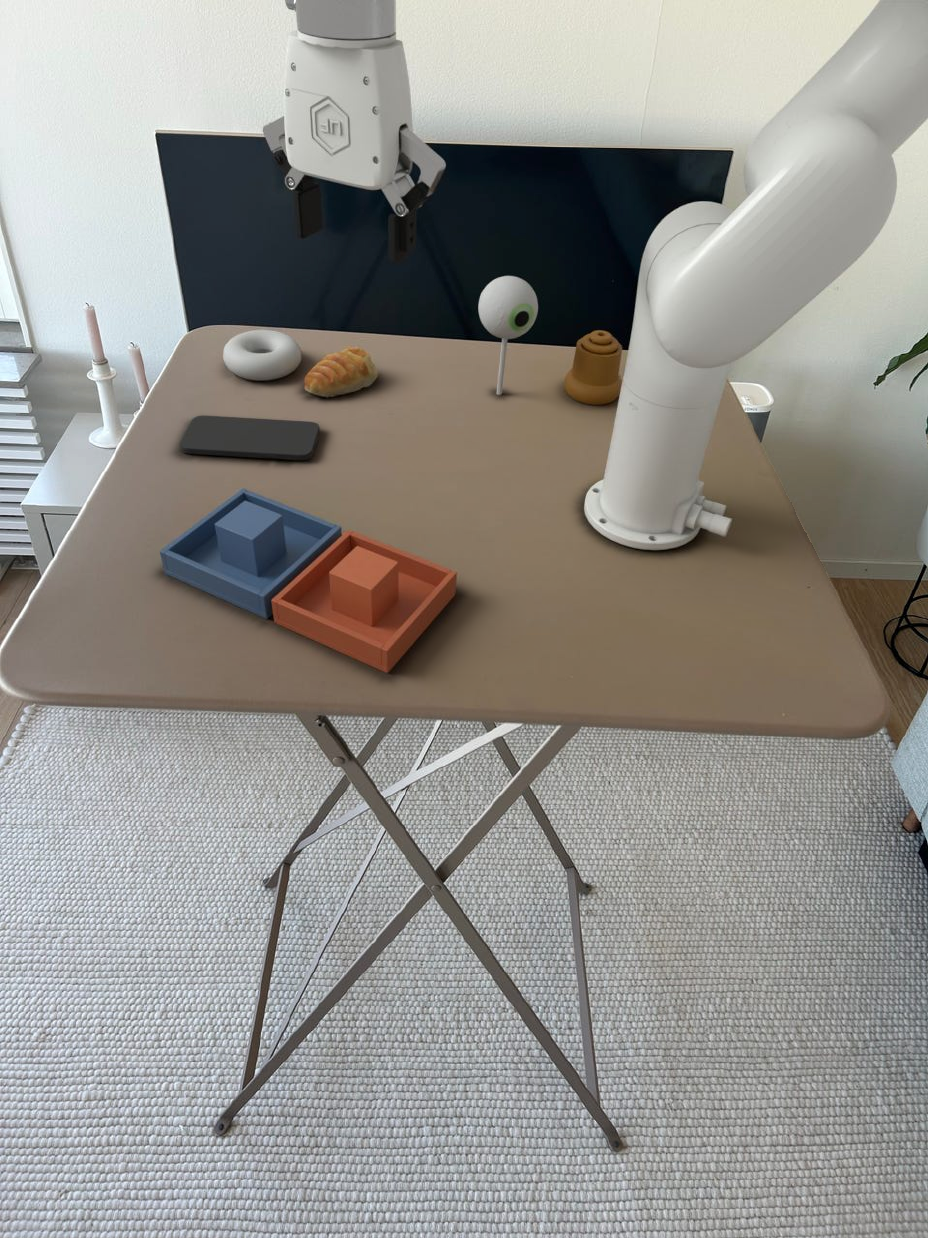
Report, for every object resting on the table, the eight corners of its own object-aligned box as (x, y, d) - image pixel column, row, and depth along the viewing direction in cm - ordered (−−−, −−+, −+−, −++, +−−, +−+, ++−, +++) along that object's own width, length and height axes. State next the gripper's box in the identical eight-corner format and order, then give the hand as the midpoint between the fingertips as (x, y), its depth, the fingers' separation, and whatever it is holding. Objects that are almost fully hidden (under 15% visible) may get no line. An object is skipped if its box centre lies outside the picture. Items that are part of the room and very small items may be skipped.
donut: (280, 392, 111) (315, 357, 118) (277, 367, 108) (313, 332, 115) (210, 376, 113) (248, 342, 120) (205, 351, 110) (245, 318, 117)
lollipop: (488, 412, 110) (499, 294, 99) (461, 385, 114) (469, 270, 104) (536, 401, 112) (552, 285, 102) (509, 376, 117) (521, 262, 106)
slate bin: (342, 548, 89) (341, 526, 87) (266, 619, 81) (263, 596, 79) (246, 510, 92) (242, 487, 91) (164, 573, 84) (159, 551, 83)
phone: (194, 414, 104) (320, 421, 104) (195, 420, 105) (321, 427, 105) (176, 448, 99) (310, 455, 99) (178, 454, 99) (310, 462, 99)
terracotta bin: (455, 594, 84) (457, 572, 83) (387, 673, 76) (387, 651, 74) (349, 551, 88) (348, 529, 86) (273, 622, 80) (271, 600, 78)
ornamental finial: (622, 383, 117) (617, 411, 111) (567, 375, 118) (559, 402, 112) (633, 325, 111) (628, 352, 106) (575, 317, 112) (567, 342, 107)
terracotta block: (398, 598, 83) (398, 561, 80) (372, 627, 80) (371, 589, 77) (358, 582, 84) (357, 545, 81) (331, 609, 81) (328, 572, 78)
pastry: (328, 407, 108) (326, 379, 106) (291, 388, 112) (289, 360, 109) (382, 381, 114) (381, 353, 111) (345, 364, 117) (344, 336, 114)
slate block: (286, 551, 87) (282, 514, 84) (258, 577, 84) (252, 539, 81) (250, 536, 88) (245, 499, 85) (220, 561, 85) (214, 523, 82)
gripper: (223, 6, 67) (250, 237, 79) (419, 40, 62) (417, 282, 73) (283, -5, 72) (300, 213, 84) (470, 24, 66) (460, 254, 78)
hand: (354, 245), depth 78 cm, fingers open, 9 cm apart
